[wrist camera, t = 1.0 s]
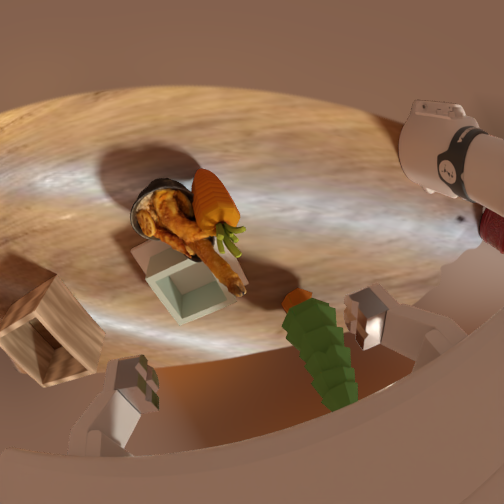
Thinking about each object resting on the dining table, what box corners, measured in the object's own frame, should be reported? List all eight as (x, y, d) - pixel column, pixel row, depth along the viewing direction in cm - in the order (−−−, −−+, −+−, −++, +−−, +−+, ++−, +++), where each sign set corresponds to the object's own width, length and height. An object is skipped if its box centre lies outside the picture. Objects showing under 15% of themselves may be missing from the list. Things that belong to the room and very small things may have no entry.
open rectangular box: (212, 209, 40) (216, 227, 34) (247, 280, 47) (256, 306, 41) (131, 248, 40) (122, 272, 34) (175, 311, 47) (174, 339, 41)
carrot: (179, 159, 34) (205, 242, 26) (216, 151, 35) (255, 229, 27) (184, 187, 38) (210, 272, 30) (218, 180, 39) (254, 260, 31)
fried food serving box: (57, 274, 39) (35, 310, 30) (105, 333, 47) (96, 372, 38) (11, 304, 39) (-9, 337, 31) (55, 353, 47) (43, 387, 38)
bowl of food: (126, 165, 31) (131, 284, 21) (209, 156, 35) (257, 262, 25) (133, 218, 38) (147, 330, 28) (204, 208, 42) (242, 311, 32)
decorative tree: (265, 299, 50) (326, 453, 24) (308, 269, 49) (400, 411, 23) (291, 326, 55) (350, 458, 29) (329, 299, 53) (409, 424, 27)
